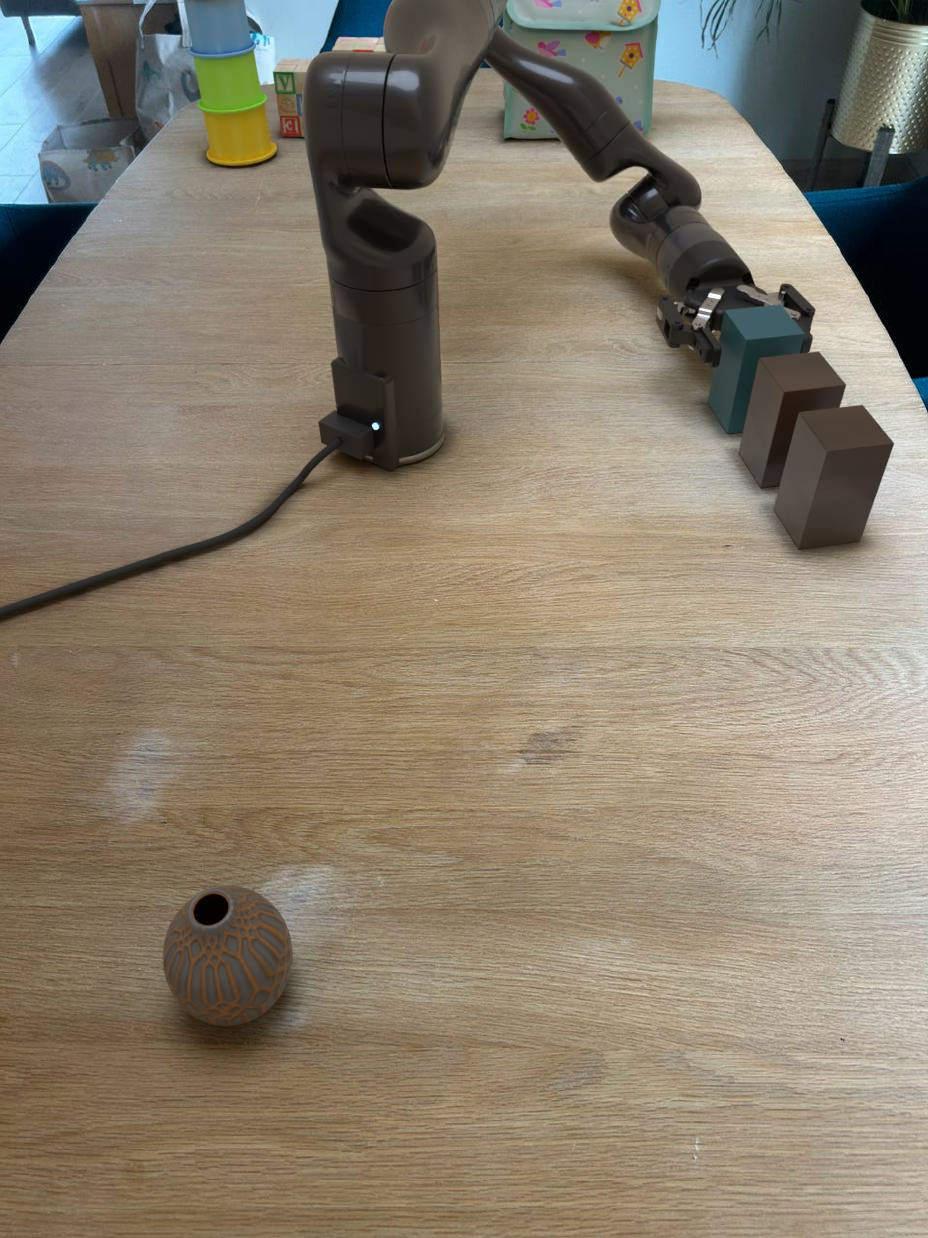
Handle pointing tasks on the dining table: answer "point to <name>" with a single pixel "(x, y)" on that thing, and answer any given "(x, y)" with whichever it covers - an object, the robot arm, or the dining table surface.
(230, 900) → the vase
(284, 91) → the stack of blocks
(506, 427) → the dining table surface
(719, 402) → the teal block
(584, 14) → the lunch bag
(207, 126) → the stacking cups
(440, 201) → the dining table surface
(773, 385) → the walnut block middle
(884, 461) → the walnut block front
